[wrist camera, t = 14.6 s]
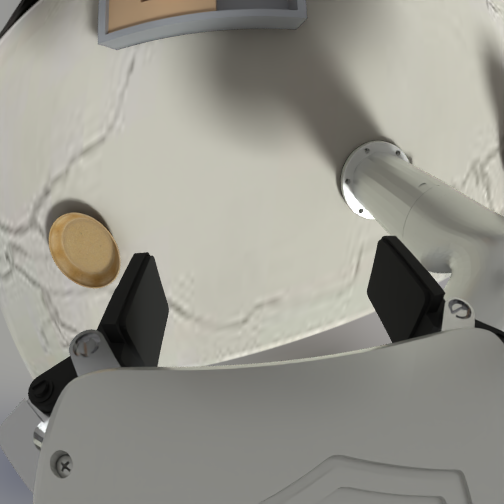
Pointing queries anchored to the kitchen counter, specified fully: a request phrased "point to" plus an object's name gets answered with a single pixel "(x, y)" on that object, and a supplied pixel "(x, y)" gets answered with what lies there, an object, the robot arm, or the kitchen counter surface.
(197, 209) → the kitchen counter surface
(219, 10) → the box
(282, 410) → the robot arm
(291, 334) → the kitchen counter surface
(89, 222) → the plant saucer
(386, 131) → the kitchen counter surface
